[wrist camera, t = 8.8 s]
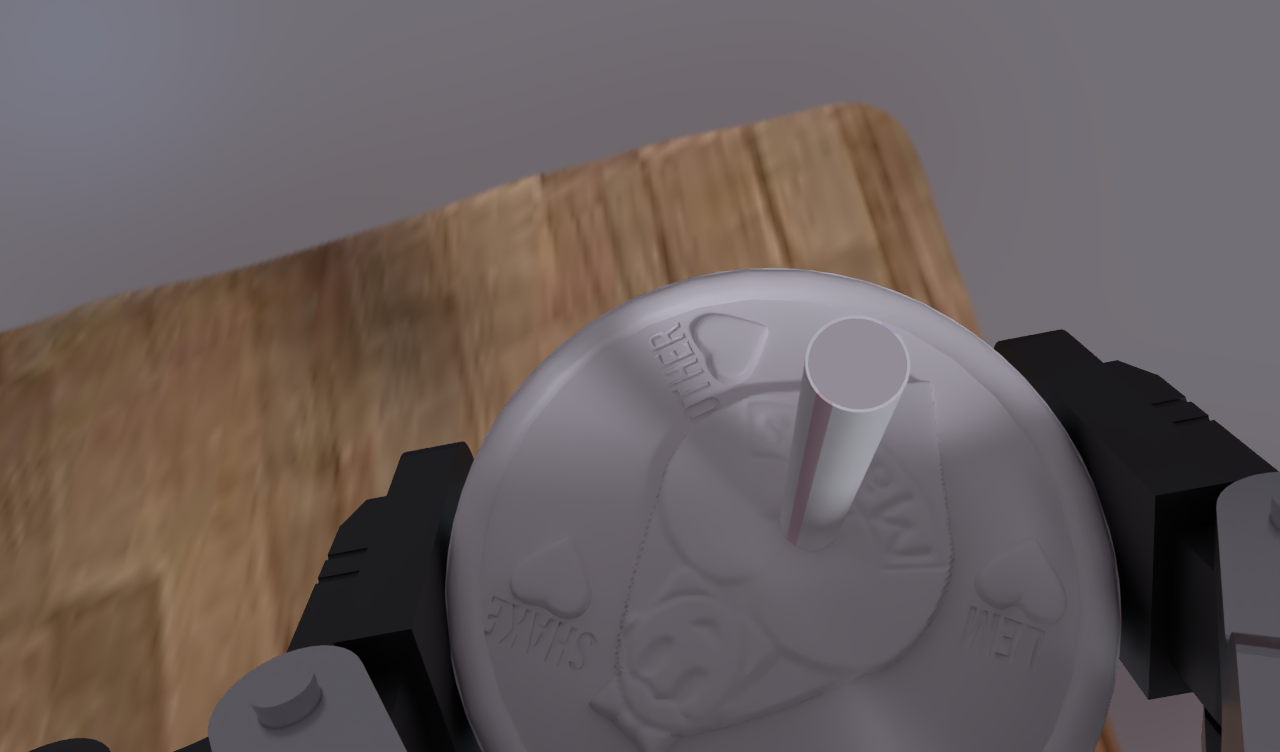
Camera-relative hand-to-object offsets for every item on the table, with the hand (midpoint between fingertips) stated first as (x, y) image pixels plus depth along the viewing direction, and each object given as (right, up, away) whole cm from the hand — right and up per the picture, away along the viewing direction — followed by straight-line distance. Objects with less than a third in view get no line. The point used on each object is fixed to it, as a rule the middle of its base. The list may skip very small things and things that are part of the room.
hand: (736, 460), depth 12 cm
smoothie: (+1, -4, +6) cm, 8 cm away
